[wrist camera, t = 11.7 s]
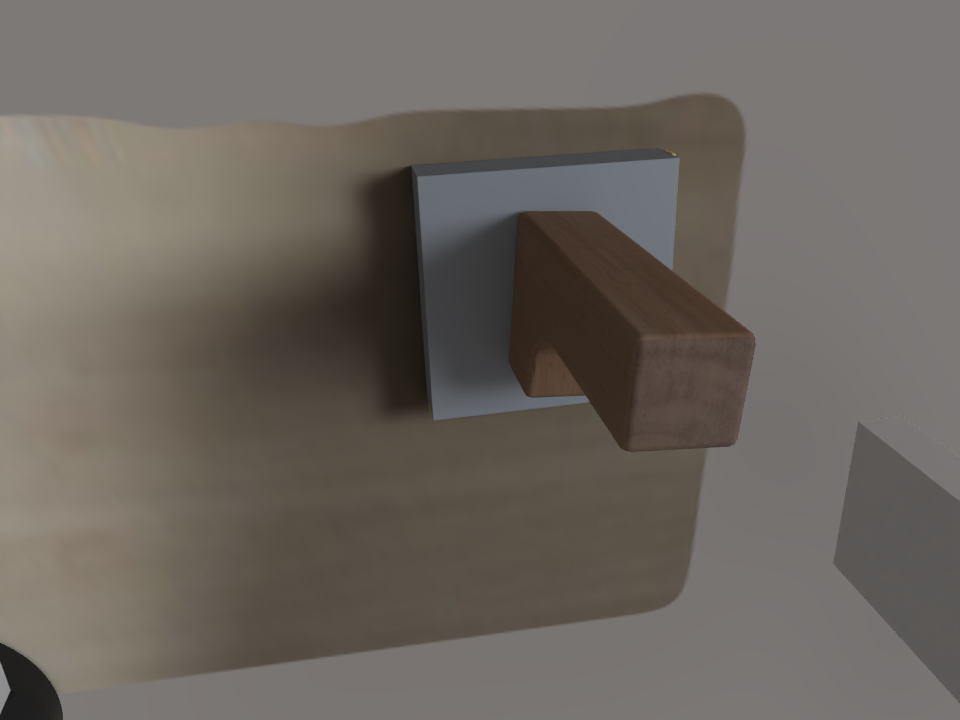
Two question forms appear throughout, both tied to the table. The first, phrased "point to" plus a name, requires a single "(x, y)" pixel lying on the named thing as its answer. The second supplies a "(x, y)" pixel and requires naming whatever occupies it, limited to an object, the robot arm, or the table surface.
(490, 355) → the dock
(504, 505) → the table surface
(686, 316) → the wooden block
